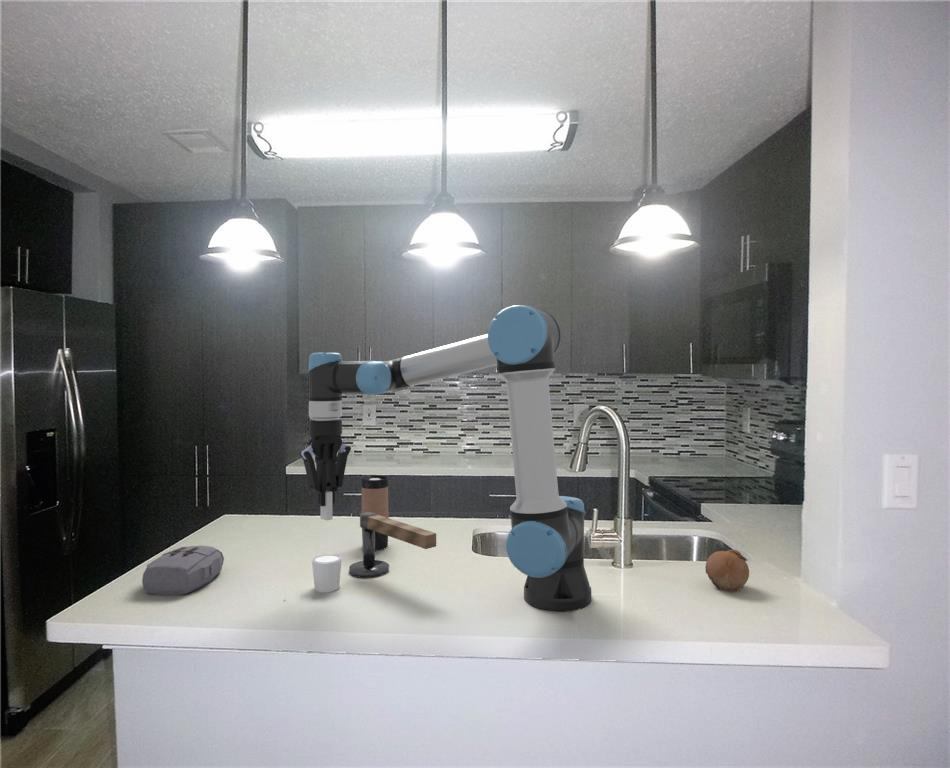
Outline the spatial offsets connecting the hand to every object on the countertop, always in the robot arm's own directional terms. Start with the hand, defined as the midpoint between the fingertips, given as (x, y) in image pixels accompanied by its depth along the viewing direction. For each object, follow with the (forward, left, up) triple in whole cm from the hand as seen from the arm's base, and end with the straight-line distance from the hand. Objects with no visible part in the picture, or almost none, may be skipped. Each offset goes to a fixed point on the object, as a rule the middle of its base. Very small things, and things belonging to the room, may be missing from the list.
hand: (326, 518), depth 145 cm
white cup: (0, 0, -17) cm, 17 cm away
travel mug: (+17, -28, -17) cm, 37 cm away
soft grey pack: (+29, +20, -17) cm, 39 cm away
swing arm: (-9, -13, -5) cm, 17 cm away
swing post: (+2, -14, -16) cm, 22 cm away
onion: (-70, -63, -17) cm, 96 cm away
